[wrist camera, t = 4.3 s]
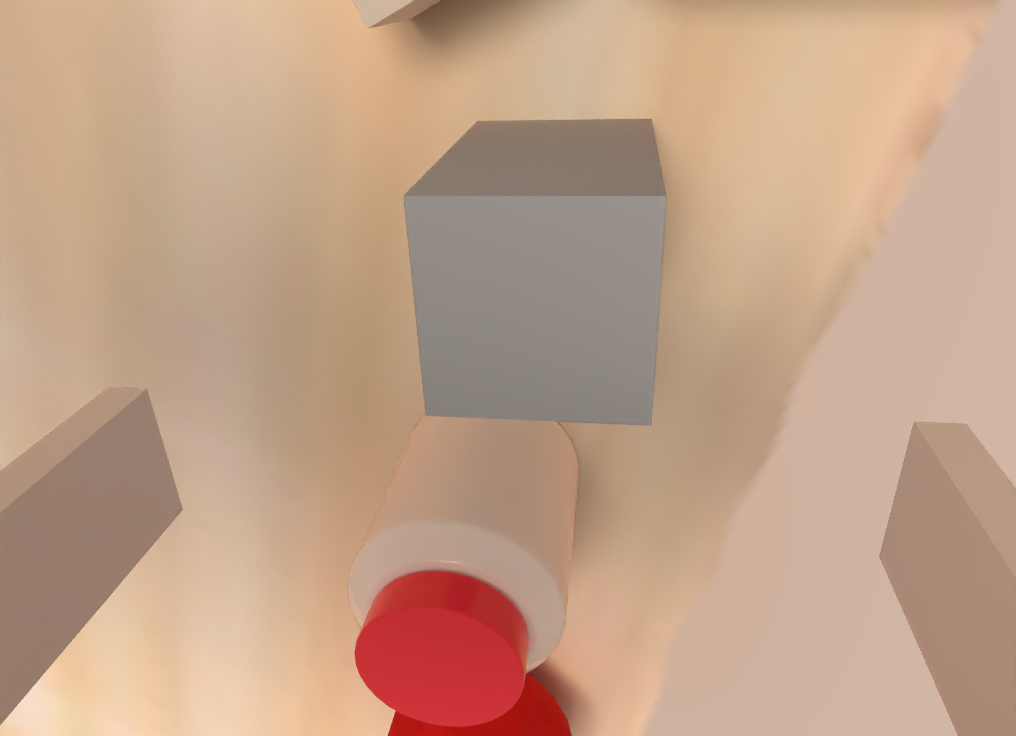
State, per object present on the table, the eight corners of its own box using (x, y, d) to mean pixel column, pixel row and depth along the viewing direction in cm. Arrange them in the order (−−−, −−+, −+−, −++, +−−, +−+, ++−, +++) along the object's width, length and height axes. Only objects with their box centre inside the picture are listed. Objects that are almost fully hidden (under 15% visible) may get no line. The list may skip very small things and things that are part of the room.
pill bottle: (403, 517, 35) (319, 723, 25) (413, 376, 31) (319, 555, 22) (563, 547, 34) (541, 769, 25) (593, 408, 31) (580, 607, 21)
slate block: (486, 281, 29) (426, 415, 20) (477, 121, 26) (403, 196, 17) (642, 284, 28) (651, 425, 19) (651, 118, 25) (666, 196, 16)
